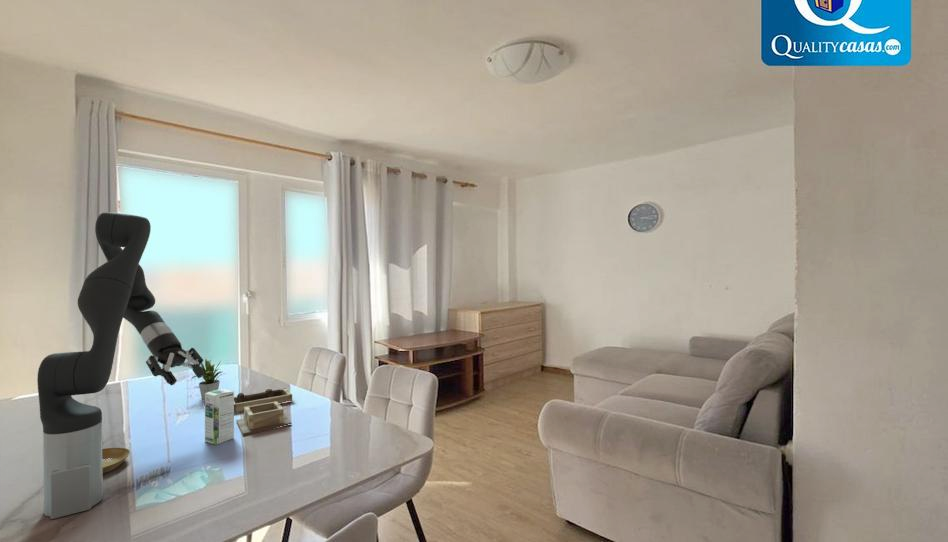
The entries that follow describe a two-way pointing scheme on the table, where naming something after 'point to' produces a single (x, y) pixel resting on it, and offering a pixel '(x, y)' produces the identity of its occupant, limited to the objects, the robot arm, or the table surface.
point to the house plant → (208, 379)
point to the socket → (262, 418)
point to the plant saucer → (113, 457)
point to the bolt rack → (262, 401)
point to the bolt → (258, 395)
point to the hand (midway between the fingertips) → (188, 379)
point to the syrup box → (219, 416)
